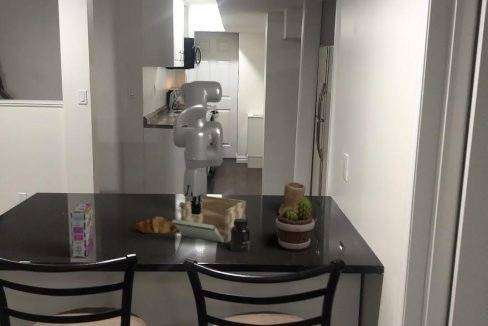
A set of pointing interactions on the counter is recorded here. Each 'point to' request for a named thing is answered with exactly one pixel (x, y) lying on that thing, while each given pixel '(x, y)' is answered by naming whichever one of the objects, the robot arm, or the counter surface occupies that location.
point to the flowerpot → (295, 226)
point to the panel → (198, 230)
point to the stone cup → (292, 196)
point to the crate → (216, 213)
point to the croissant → (157, 226)
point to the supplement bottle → (240, 236)
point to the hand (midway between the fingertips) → (196, 213)
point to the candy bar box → (82, 230)
